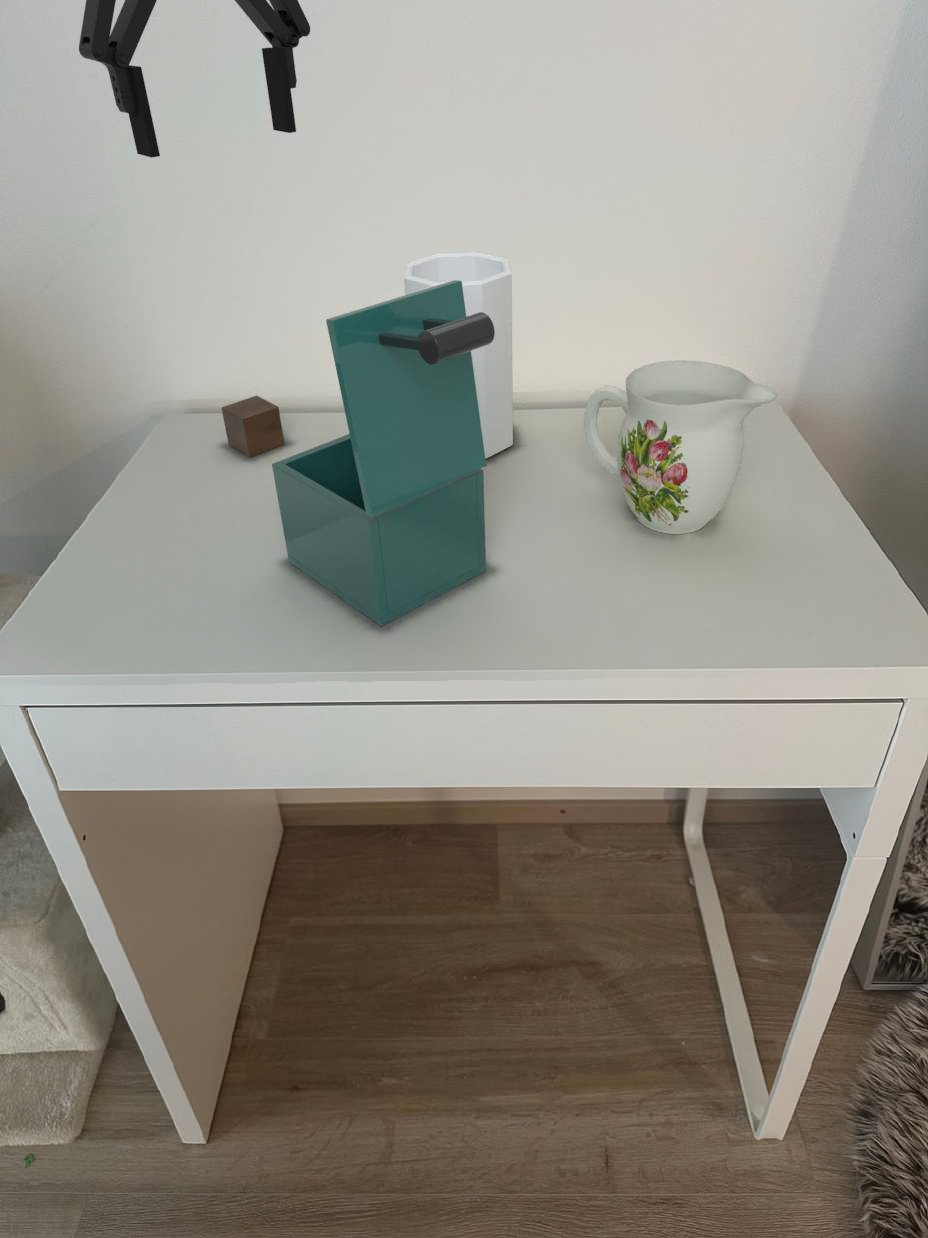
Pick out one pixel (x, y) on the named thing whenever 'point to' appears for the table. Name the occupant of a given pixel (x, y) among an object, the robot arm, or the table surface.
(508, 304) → the cup
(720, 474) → the pitcher
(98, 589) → the table surface
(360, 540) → the tin
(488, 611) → the table surface
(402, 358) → the lid
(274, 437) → the block
